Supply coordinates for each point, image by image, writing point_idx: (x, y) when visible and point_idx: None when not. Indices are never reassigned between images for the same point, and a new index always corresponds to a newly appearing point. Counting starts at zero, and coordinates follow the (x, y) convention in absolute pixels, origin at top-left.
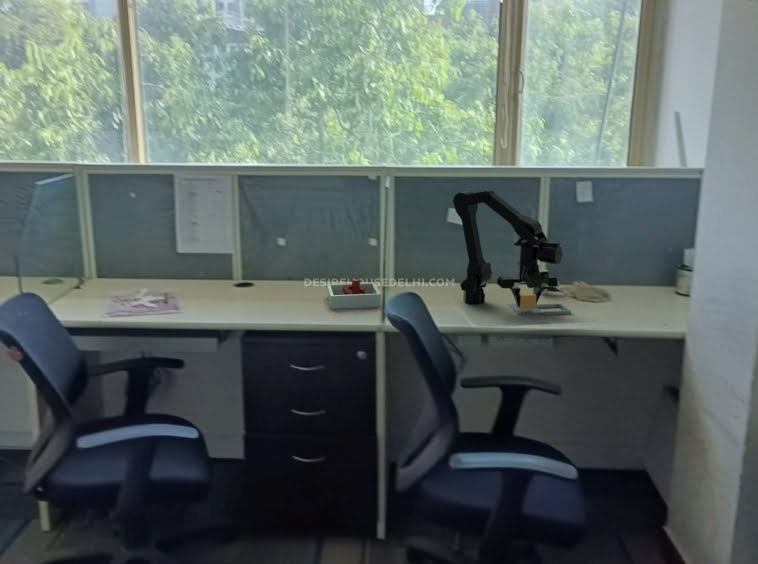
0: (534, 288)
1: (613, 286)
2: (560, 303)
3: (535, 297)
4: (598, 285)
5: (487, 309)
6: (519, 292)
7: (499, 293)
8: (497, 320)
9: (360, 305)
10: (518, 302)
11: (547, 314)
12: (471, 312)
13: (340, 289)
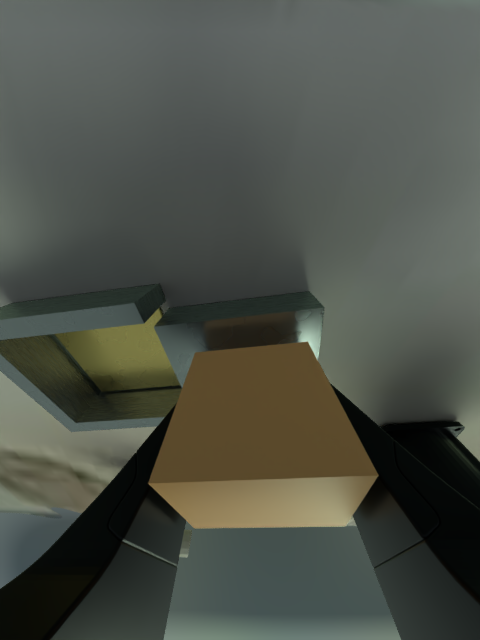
0: (158, 604)
1: (16, 509)
2: (71, 431)
3: (170, 449)
4: (49, 512)
5: (377, 415)
6: (462, 575)
7: None
8: (449, 274)
9: None
10: (340, 400)
11: (121, 297)
12: (471, 391)
13: None
